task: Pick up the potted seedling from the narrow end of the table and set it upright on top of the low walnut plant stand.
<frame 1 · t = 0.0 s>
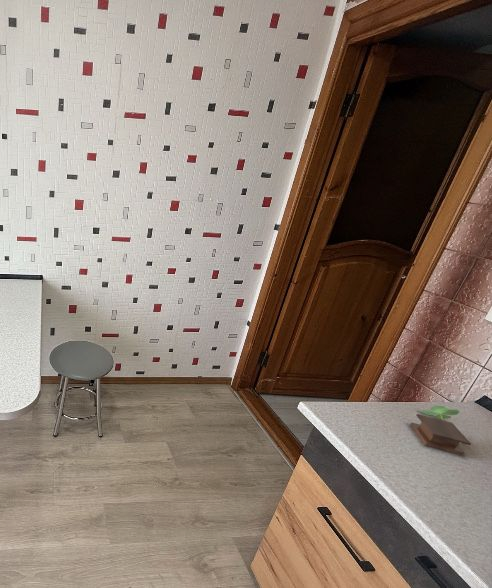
seedling: (433, 421, 99), on the kitchen counter
plant stand: (434, 439, 92), on the kitchen counter
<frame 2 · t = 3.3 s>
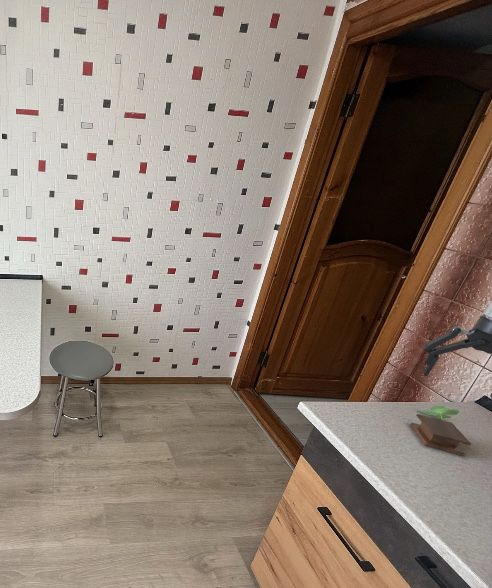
hand: (457, 385, 94), 13 cm above the kitchen counter, tool pointing down, fingers open, 13 cm apart
nothing on the kitchen counter moved.
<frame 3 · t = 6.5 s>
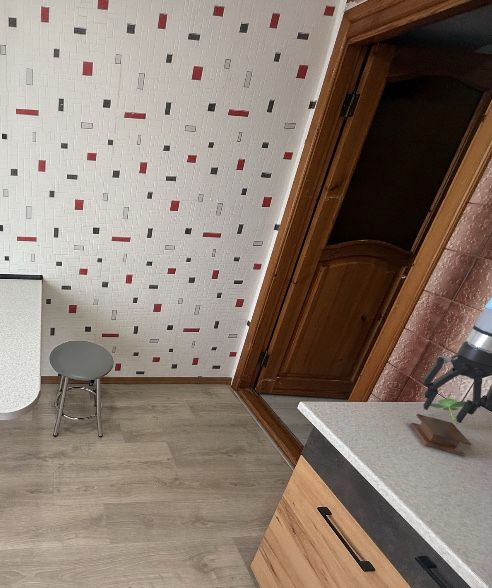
hand: (441, 413, 98), 3 cm above the kitchen counter, tool pointing down, fingers closed on seedling, 6 cm apart
seedling: (442, 414, 98), point 3 cm above the kitchen counter, touching gripper
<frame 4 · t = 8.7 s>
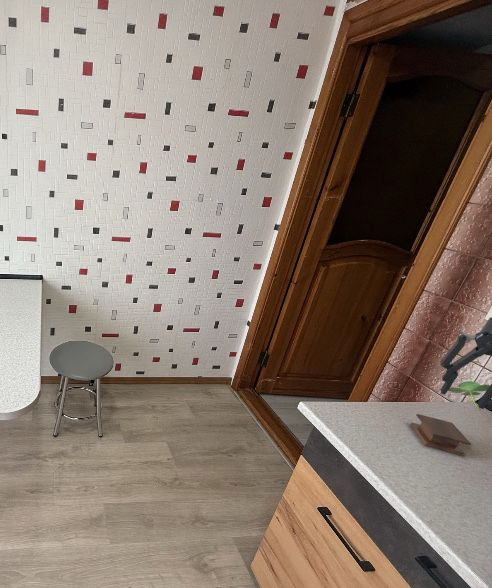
hand: (461, 398, 87), 14 cm above the kitchen counter, tool pointing down, fingers closed on seedling, 6 cm apart
seedling: (462, 400, 87), point 14 cm above the kitchen counter, touching gripper
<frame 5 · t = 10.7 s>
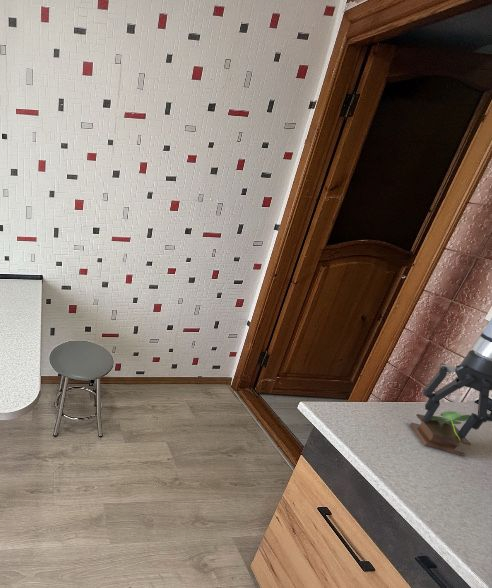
hand: (443, 427, 90), 5 cm above the kitchen counter, tool pointing down, fingers closed on seedling, 6 cm apart
seedling: (443, 428, 90), point 4 cm above the kitchen counter, touching gripper, plant stand
when the fingers open (5 cm above the kitchen counter, at t = 11.1 s): seedling stays where it is, resting on plant stand.
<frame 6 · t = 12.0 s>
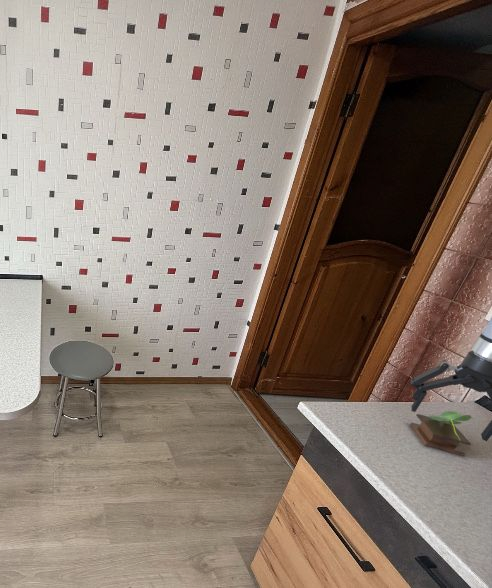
hand: (446, 422, 89), 6 cm above the kitchen counter, tool pointing down, fingers open, 13 cm apart
seedling: (444, 428, 90), point 4 cm above the kitchen counter, touching plant stand
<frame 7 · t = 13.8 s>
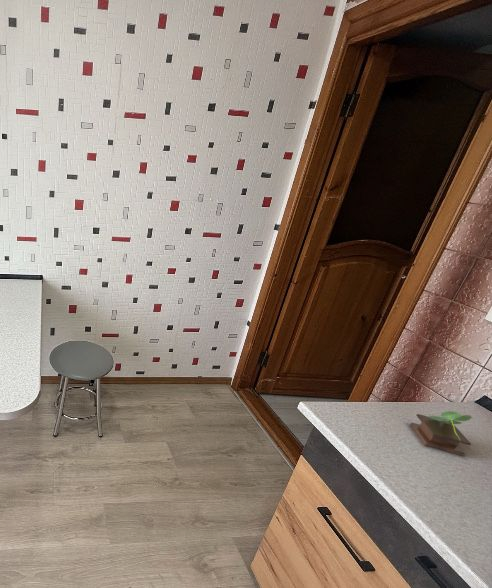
nothing on the kitchen counter moved.
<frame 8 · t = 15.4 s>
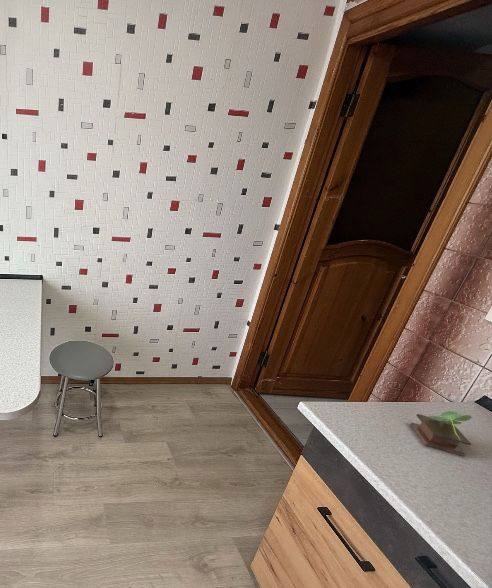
nothing on the kitchen counter moved.
at the end: seedling 0.4 cm off-centre on the plant stand, point 4.3 cm above the plant stand's base; seedling tilted 0°; the gripper is holding nothing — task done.
